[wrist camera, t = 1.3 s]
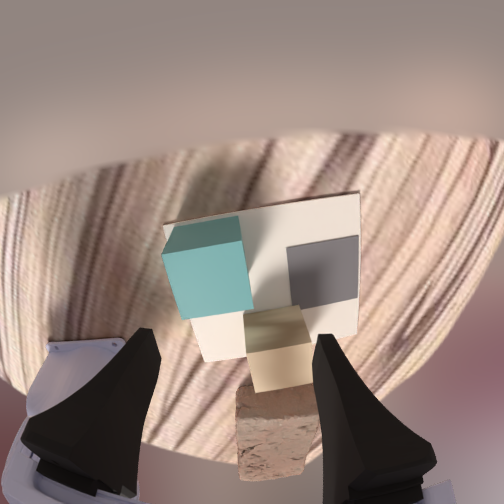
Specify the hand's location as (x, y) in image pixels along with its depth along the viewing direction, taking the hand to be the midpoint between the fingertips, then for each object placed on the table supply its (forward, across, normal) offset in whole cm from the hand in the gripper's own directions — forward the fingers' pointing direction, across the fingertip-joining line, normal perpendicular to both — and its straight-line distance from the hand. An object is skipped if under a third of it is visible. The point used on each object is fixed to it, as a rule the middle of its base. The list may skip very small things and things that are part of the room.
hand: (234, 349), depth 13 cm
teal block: (+10, +2, +1) cm, 10 cm away
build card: (+10, -2, +4) cm, 11 cm away
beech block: (+9, -2, +8) cm, 12 cm away
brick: (+8, -3, +24) cm, 25 cm away
